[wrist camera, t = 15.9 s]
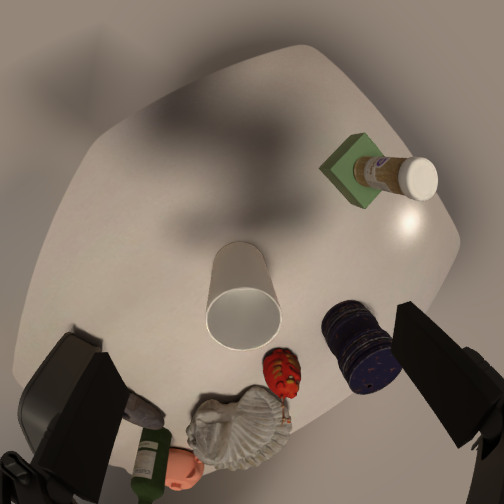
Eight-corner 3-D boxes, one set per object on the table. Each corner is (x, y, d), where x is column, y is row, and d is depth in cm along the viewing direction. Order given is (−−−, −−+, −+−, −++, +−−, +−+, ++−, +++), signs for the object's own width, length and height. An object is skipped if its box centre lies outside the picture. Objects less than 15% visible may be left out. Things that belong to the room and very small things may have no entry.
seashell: (246, 366, 48) (304, 403, 55) (183, 383, 57) (240, 415, 64) (227, 460, 32) (297, 478, 39) (160, 453, 42) (227, 476, 49)
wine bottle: (152, 420, 55) (133, 521, 26) (177, 433, 57) (167, 531, 28) (138, 429, 56) (118, 520, 28) (162, 442, 58) (149, 531, 30)
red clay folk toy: (304, 359, 51) (324, 415, 36) (278, 378, 52) (291, 435, 38) (279, 340, 48) (294, 399, 34) (252, 362, 50) (259, 422, 36)
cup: (269, 246, 43) (290, 292, 27) (259, 293, 45) (273, 354, 30) (217, 238, 42) (209, 281, 26) (210, 286, 44) (201, 346, 29)
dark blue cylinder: (332, 295, 46) (367, 345, 32) (375, 303, 48) (415, 347, 34) (313, 340, 49) (337, 396, 35) (355, 344, 51) (385, 393, 36)
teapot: (173, 471, 65) (170, 500, 53) (136, 452, 61) (129, 483, 49) (220, 458, 62) (221, 492, 50) (181, 438, 58) (177, 475, 46)
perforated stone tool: (171, 412, 54) (167, 434, 47) (159, 419, 55) (155, 440, 48) (118, 378, 50) (109, 400, 43) (109, 387, 50) (100, 408, 44)
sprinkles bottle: (361, 149, 34) (420, 148, 21) (384, 168, 35) (445, 175, 22) (346, 175, 35) (401, 184, 22) (369, 193, 36) (427, 210, 23)
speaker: (73, 322, 45) (12, 406, 21) (109, 340, 46) (59, 436, 23) (71, 390, 51) (36, 461, 27) (99, 404, 53) (71, 480, 29)
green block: (318, 168, 39) (329, 169, 35) (350, 134, 38) (365, 132, 33) (351, 204, 41) (365, 209, 37) (381, 171, 40) (397, 173, 35)
